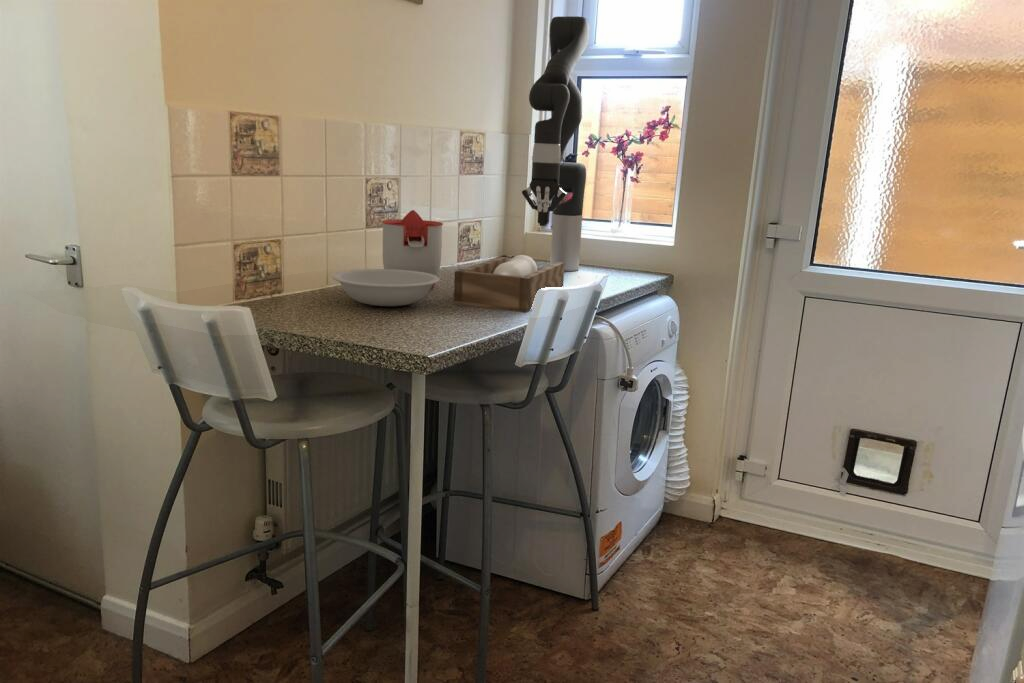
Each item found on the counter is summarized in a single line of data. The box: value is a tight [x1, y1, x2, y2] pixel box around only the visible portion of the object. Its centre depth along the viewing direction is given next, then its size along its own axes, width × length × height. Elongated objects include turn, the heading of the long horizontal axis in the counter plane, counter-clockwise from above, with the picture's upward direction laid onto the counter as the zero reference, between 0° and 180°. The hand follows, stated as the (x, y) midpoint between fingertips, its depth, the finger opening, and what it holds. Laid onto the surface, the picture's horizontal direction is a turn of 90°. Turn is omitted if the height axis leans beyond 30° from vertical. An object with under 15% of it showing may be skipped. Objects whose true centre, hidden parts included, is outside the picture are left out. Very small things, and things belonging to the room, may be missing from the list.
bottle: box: [493, 254, 538, 277], centre depth 203 cm, size 8×8×30 cm
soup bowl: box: [332, 268, 440, 307], centre depth 184 cm, size 24×24×7 cm
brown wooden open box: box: [453, 256, 565, 313], centre depth 200 cm, size 32×18×8 cm, turn 162°
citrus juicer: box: [381, 209, 444, 289], centre depth 206 cm, size 16×17×20 cm
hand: (543, 225), depth 220 cm, fingers closed
